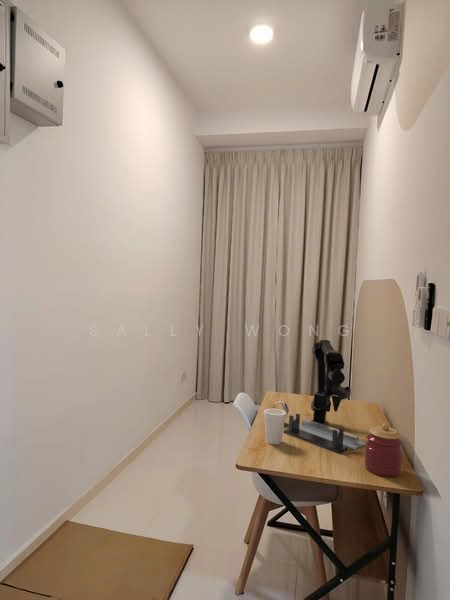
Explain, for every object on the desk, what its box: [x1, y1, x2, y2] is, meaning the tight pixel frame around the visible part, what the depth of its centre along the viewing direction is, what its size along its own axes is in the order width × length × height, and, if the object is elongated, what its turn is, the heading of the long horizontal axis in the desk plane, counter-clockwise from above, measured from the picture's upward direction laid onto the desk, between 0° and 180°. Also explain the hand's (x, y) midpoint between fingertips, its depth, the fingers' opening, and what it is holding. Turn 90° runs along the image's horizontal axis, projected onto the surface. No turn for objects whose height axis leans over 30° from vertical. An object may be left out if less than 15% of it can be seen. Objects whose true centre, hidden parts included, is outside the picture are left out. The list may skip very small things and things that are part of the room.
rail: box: [301, 418, 360, 445], centre depth 185 cm, size 3×28×3 cm, turn 42°
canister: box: [364, 422, 404, 478], centre depth 151 cm, size 13×13×18 cm
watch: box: [272, 400, 290, 417], centre depth 199 cm, size 6×8×11 cm
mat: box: [299, 424, 367, 451], centre depth 185 cm, size 11×32×1 cm, turn 42°
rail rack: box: [283, 413, 349, 455], centre depth 178 cm, size 7×29×8 cm, turn 42°
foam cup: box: [263, 408, 287, 445], centre depth 175 cm, size 10×9×13 cm
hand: (330, 413), depth 185 cm, fingers open, 9 cm apart
